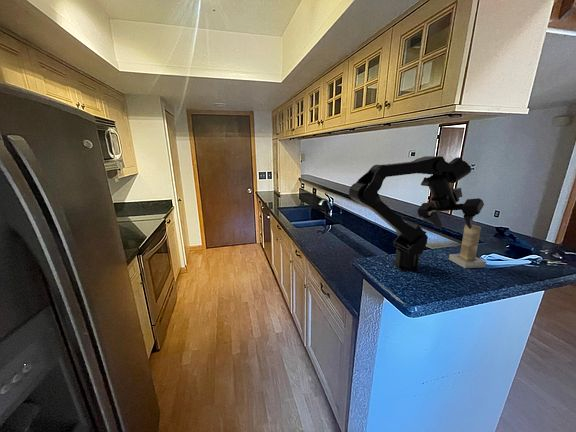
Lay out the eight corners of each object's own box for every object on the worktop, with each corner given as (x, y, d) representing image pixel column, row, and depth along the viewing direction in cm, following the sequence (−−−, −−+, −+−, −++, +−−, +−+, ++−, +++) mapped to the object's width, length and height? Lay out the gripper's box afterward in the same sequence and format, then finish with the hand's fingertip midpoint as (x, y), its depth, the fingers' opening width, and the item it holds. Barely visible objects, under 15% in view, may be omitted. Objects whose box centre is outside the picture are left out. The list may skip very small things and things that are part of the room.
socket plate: (464, 268, 83) (465, 262, 82) (448, 259, 90) (449, 254, 90) (485, 267, 83) (486, 261, 83) (467, 258, 91) (468, 253, 90)
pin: (465, 265, 85) (472, 227, 82) (458, 261, 88) (465, 224, 85) (474, 264, 85) (481, 227, 82) (467, 261, 88) (473, 224, 85)
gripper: (482, 173, 76) (495, 213, 80) (423, 182, 92) (436, 215, 96) (470, 192, 71) (485, 234, 75) (410, 198, 87) (424, 232, 91)
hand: (455, 228), depth 85 cm, fingers open, 9 cm apart
